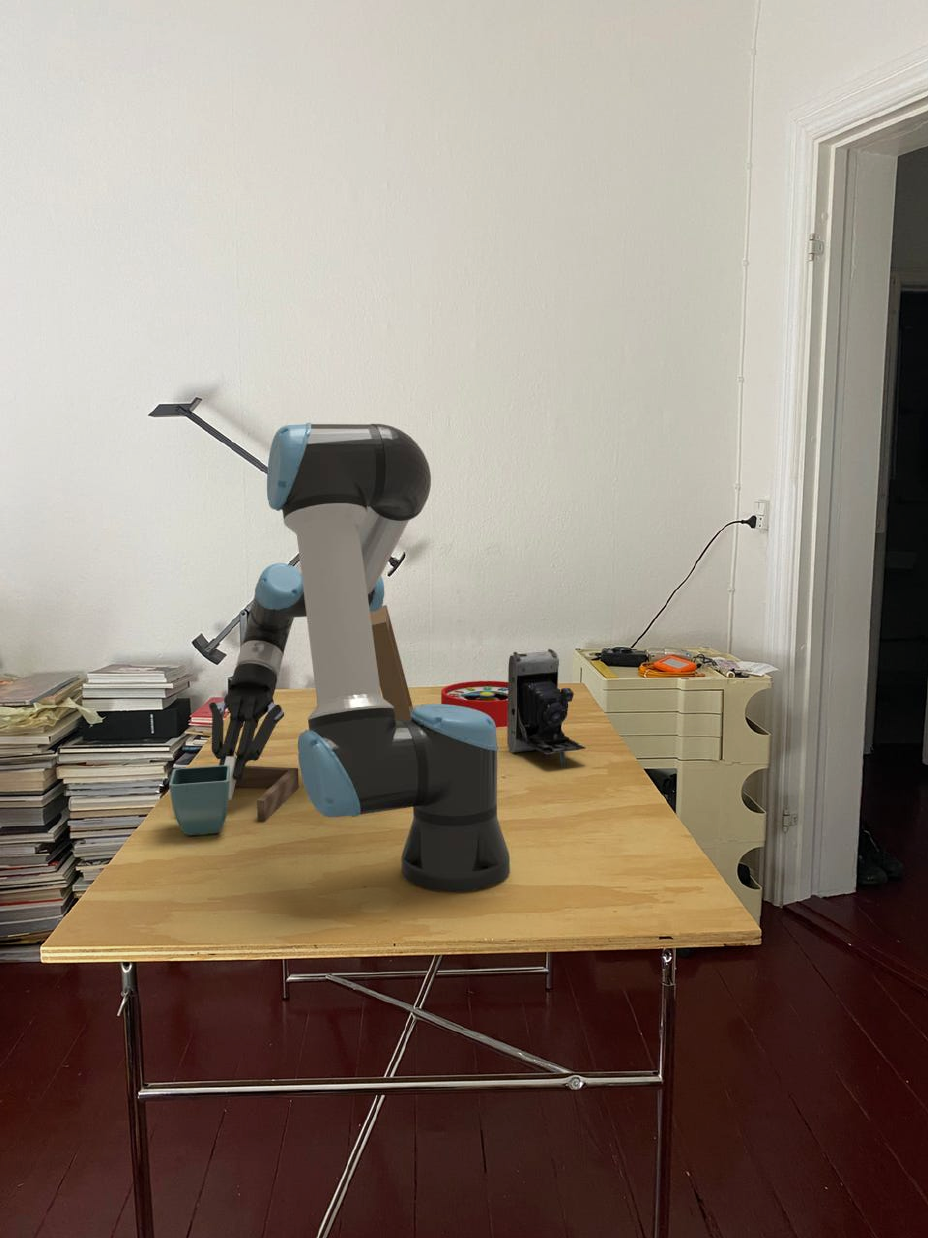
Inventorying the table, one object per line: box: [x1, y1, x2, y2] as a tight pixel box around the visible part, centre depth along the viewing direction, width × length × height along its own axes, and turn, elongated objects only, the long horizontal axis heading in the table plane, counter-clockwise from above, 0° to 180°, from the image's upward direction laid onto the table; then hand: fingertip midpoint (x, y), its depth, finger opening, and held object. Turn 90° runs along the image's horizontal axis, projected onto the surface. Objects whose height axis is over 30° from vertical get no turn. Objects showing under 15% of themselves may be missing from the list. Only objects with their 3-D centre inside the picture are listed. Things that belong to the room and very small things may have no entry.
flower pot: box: [168, 765, 230, 836], centre depth 165 cm, size 9×9×9 cm
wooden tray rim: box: [234, 765, 300, 823], centre depth 178 cm, size 17×14×4 cm
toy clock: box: [440, 680, 508, 728], centre depth 233 cm, size 20×6×20 cm
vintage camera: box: [506, 648, 587, 768], centre depth 200 cm, size 10×16×20 cm, turn 24°
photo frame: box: [370, 604, 414, 721], centre depth 220 cm, size 15×22×25 cm
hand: (223, 796), depth 171 cm, fingers closed
